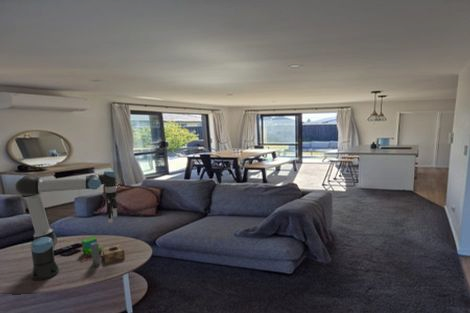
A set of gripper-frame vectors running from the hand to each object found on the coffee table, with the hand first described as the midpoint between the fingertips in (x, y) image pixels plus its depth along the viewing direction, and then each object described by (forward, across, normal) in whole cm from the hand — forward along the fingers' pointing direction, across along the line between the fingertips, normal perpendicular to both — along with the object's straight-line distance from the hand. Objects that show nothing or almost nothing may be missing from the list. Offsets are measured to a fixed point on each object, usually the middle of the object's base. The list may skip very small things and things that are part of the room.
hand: (112, 219), depth 218 cm
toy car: (+26, +2, +17) cm, 31 cm away
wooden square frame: (+26, -8, -1) cm, 27 cm away
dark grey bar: (+26, -17, +8) cm, 32 cm away
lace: (+26, -6, +14) cm, 30 cm away
